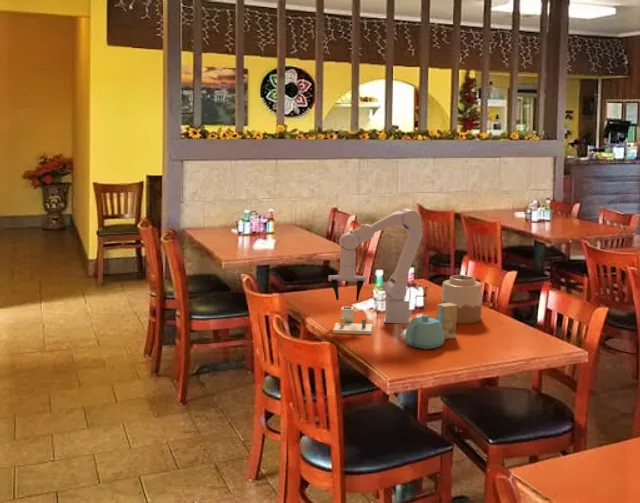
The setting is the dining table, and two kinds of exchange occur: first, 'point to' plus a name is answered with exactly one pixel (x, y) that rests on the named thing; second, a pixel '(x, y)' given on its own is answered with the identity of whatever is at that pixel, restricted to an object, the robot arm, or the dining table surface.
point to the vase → (463, 297)
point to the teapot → (425, 332)
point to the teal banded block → (347, 314)
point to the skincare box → (448, 319)
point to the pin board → (353, 327)
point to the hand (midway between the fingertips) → (347, 299)
